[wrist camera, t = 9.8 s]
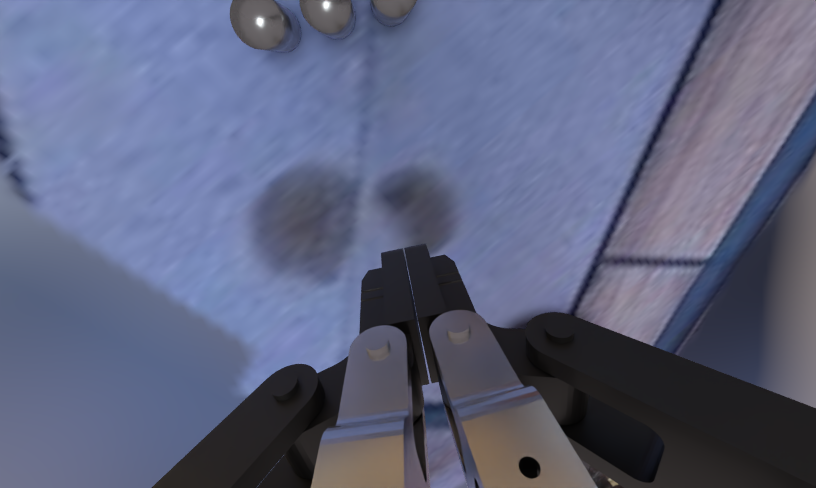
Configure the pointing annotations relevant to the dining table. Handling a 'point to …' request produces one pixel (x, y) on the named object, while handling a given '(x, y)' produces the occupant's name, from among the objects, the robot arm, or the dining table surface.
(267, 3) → the metal posts
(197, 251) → the dining table surface
